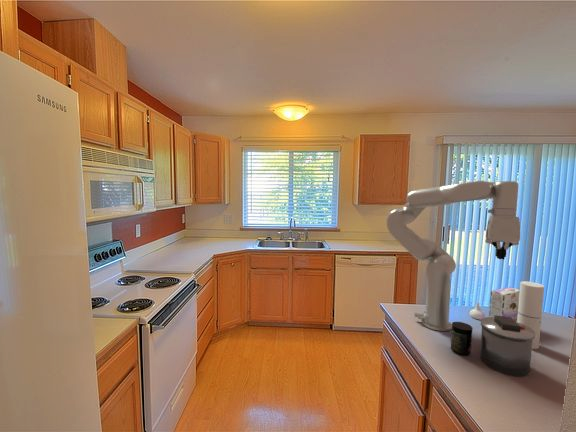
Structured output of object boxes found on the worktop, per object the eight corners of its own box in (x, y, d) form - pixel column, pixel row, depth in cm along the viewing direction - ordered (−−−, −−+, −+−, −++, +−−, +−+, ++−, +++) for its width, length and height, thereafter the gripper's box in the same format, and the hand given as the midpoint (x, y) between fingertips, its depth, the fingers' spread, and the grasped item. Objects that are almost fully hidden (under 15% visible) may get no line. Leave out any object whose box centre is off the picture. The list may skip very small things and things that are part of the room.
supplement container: (468, 359, 101) (470, 332, 100) (448, 351, 105) (449, 325, 105) (472, 351, 106) (474, 325, 105) (452, 344, 110) (454, 319, 109)
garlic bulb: (487, 321, 132) (490, 305, 131) (474, 320, 132) (477, 304, 131) (478, 315, 138) (481, 300, 137) (466, 314, 138) (468, 299, 137)
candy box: (507, 319, 133) (509, 286, 131) (521, 324, 127) (524, 290, 126) (487, 324, 128) (490, 289, 127) (501, 329, 122) (504, 294, 121)
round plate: (474, 317, 107) (475, 308, 107) (521, 323, 102) (522, 315, 102) (488, 335, 93) (488, 325, 92) (544, 344, 87) (544, 333, 87)
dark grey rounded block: (487, 371, 94) (489, 337, 93) (475, 349, 107) (477, 319, 106) (538, 381, 89) (541, 345, 88) (518, 356, 102) (521, 326, 101)
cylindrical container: (510, 339, 114) (515, 281, 112) (526, 339, 115) (531, 281, 113) (527, 349, 107) (532, 287, 105) (543, 348, 108) (549, 287, 106)
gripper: (484, 212, 107) (481, 259, 108) (532, 214, 101) (528, 262, 103) (478, 211, 114) (475, 255, 115) (523, 212, 108) (519, 258, 110)
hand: (500, 258), depth 109 cm, fingers closed
